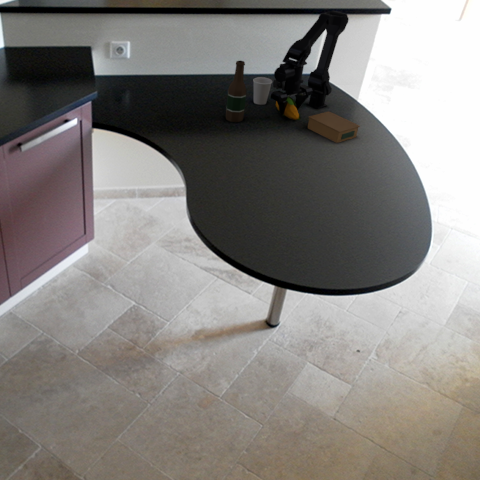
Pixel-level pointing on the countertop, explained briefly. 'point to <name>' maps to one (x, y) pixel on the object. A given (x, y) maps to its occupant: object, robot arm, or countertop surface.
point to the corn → (290, 109)
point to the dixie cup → (261, 90)
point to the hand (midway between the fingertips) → (288, 112)
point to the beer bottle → (236, 95)
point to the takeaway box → (333, 126)
